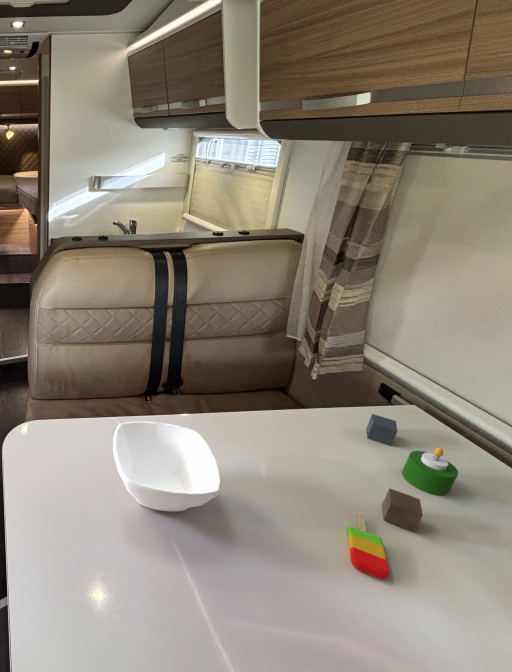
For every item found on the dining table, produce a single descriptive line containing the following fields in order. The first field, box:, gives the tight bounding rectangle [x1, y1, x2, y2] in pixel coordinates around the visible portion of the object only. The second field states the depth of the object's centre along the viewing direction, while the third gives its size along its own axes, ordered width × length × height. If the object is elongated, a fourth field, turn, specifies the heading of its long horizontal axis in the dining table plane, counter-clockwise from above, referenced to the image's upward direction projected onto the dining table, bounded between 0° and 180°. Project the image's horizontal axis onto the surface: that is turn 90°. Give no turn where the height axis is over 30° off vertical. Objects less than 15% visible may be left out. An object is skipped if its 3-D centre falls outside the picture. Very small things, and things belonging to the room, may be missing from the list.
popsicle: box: [346, 512, 390, 580], centre depth 86 cm, size 6×15×2 cm, turn 148°
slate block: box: [366, 413, 398, 447], centre depth 114 cm, size 5×5×5 cm
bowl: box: [112, 420, 222, 512], centre depth 97 cm, size 22×22×12 cm
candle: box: [401, 447, 459, 497], centre depth 99 cm, size 8×8×10 cm
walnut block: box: [381, 488, 424, 533], centre depth 91 cm, size 5×5×5 cm
